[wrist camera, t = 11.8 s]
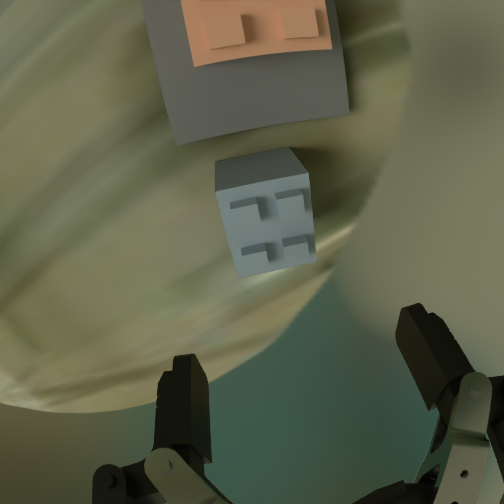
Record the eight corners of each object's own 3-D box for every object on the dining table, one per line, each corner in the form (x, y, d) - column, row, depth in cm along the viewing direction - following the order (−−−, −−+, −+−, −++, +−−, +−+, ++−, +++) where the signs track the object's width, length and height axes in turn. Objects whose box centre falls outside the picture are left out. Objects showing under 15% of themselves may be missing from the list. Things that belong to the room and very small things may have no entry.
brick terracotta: (200, 65, 15) (192, 67, 10) (184, -10, 12) (171, -38, 8) (302, 50, 15) (338, 48, 10) (290, -23, 12) (320, -52, 8)
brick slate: (214, 161, 20) (215, 198, 15) (288, 146, 20) (312, 178, 15) (233, 235, 24) (239, 286, 19) (298, 222, 24) (319, 269, 19)
